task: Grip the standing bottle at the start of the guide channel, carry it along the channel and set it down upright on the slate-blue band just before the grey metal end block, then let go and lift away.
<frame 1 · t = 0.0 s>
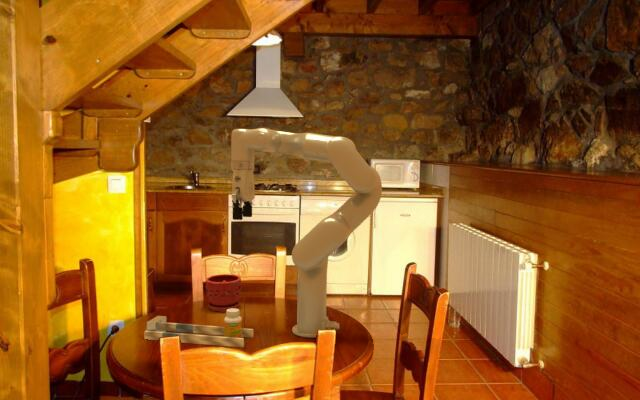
hand: (242, 218, 171), 37 cm above the table, fingers open, 9 cm apart
supplement bottle: (232, 341, 160), on the table
guide channel: (205, 338, 161), on the table
plant pot: (223, 309, 195), on the table
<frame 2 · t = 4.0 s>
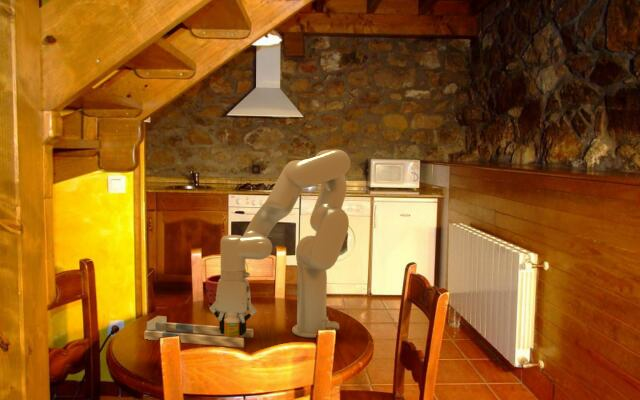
hand: (232, 332, 159), 3 cm above the table, fingers closed on supplement bottle, 5 cm apart
supplement bottle: (232, 341, 160), on the table, touching gripper
everything else where it was.
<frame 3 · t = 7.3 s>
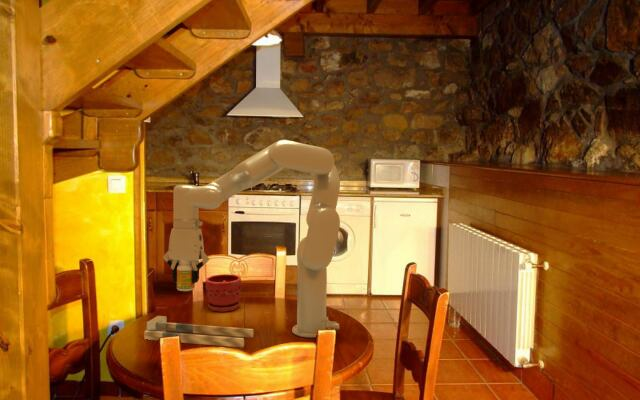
hand: (185, 281, 161), 18 cm above the table, fingers closed on supplement bottle, 5 cm apart
supplement bottle: (185, 289, 161), point 15 cm above the table, touching gripper
everything else where it was.
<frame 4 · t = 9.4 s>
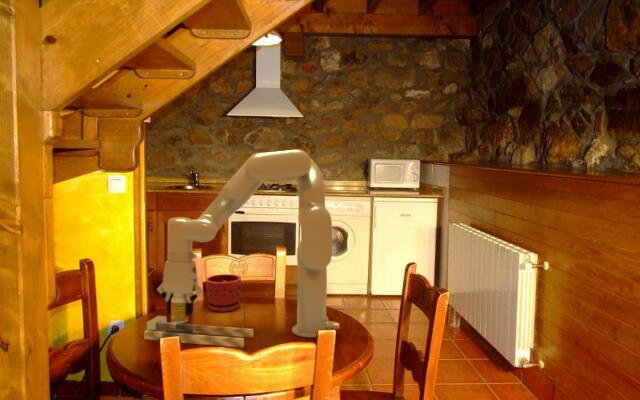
hand: (179, 313, 162), 7 cm above the table, fingers closed on supplement bottle, 5 cm apart
supplement bottle: (179, 321, 162), point 5 cm above the table, touching gripper
everything else where it was.
when the fingers open (4 cm above the table, at t = 11.0 s): supplement bottle drops 1 cm, on the table.
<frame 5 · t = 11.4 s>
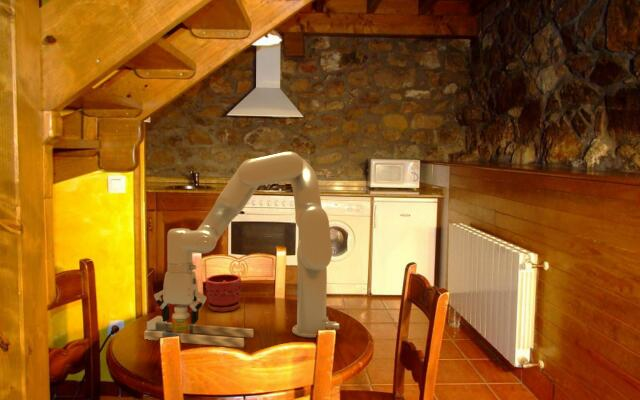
hand: (180, 321, 162), 5 cm above the table, fingers open, 9 cm apart
supplement bottle: (180, 337, 163), on the table
everything else where it was.
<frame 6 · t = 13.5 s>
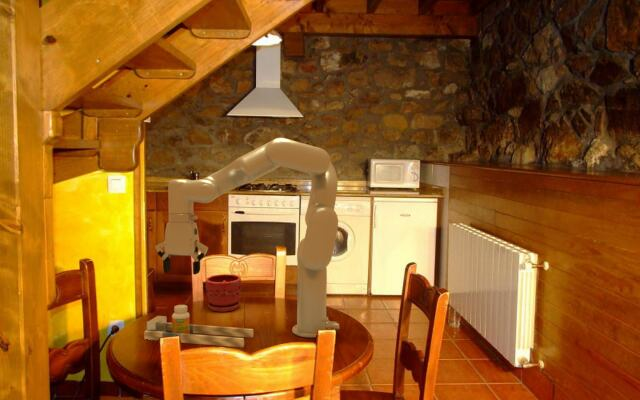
hand: (181, 272, 162), 20 cm above the table, fingers open, 9 cm apart
nothing on the table moved.
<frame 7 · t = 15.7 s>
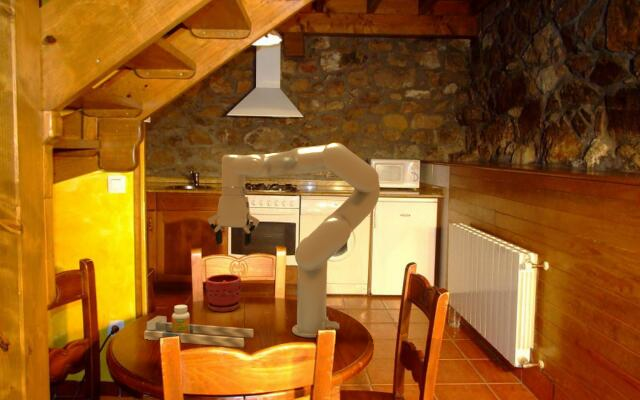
hand: (233, 244, 169), 28 cm above the table, fingers open, 9 cm apart
nothing on the table moved.
at the end: supplement bottle 0.7 cm from the target spot, on the table; supplement bottle tilted 0°; the gripper is holding nothing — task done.
